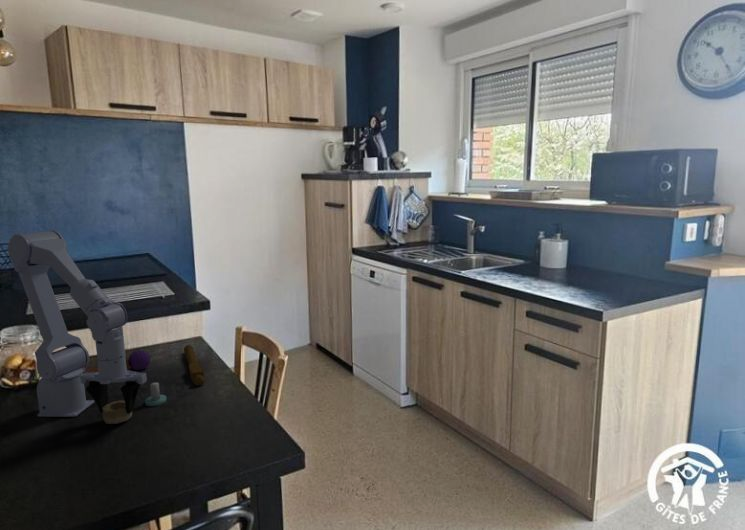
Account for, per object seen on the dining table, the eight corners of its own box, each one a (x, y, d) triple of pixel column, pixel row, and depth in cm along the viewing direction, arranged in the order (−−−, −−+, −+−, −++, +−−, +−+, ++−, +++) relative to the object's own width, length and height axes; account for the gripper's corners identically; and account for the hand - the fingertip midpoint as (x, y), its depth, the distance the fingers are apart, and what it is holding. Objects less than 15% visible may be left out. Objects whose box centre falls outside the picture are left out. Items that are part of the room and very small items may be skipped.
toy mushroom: (141, 406, 122) (139, 388, 122) (151, 397, 127) (149, 380, 127) (161, 406, 122) (159, 388, 121) (170, 397, 127) (168, 380, 126)
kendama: (70, 367, 139) (145, 346, 150) (75, 387, 139) (149, 365, 151) (72, 369, 134) (149, 348, 145) (77, 390, 134) (154, 367, 146)
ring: (99, 423, 113) (98, 411, 112) (113, 412, 118) (111, 400, 118) (123, 423, 113) (122, 411, 112) (135, 412, 118) (134, 400, 118)
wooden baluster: (193, 343, 160) (205, 375, 134) (193, 352, 161) (206, 386, 134) (183, 345, 159) (193, 378, 133) (183, 354, 160) (194, 388, 133)
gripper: (69, 362, 109) (76, 419, 112) (133, 363, 109) (139, 419, 111) (88, 351, 116) (94, 405, 119) (148, 351, 116) (153, 405, 118)
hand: (117, 411), depth 115 cm, fingers closed on ring, 6 cm apart
